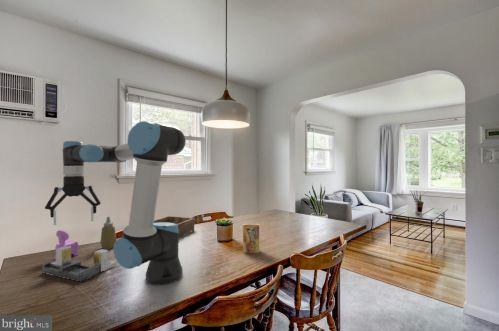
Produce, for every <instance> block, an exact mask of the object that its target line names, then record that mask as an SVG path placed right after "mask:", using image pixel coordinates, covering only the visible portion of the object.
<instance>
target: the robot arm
mask: <svg viewBox="0 0 499 331" xmlns="http://www.w3.org/2000/svg"><path fill="white" fill-rule="evenodd" d="M185 147H186V136H185V134H184V132H183V131H182V130H181V129H179V128H178V127H177V126H172V125H169V124H168V125H167V124H163V123H158V122H154V121H145V120H142V121H139V122H137V123H135V125H134V126H132V127H131V129H130V130H129V133H128V134H127V143H124V144H119V145H115V146H110V145H109V146H106V145H97V144H90V143H89V144H85V145H84V143H83V142H82V141H79V140H78V141H77V140H64V142H63V143H62V164H63V165H62V168H63V169H62V171H63V173H62V174H63V175H64V176H63V178H62V179H63V181H62V182H63V184H62V185H63V186H62V187H59V186H55V187H54V190H53V192H52V195H51V197H50V198H49V200H48V202H47V203H46V205H45V206H44V210H49V211H50V218H53V226H57V224H58V209H57V207H58V206H59V205H60V204H61V203H62V202H63V201H64V199H65V198H67V197H69V198H70V197H79V196H80V197H82V198H83V199H84V200H86V201H87V202H88V203H89V204H90V205H91V207H90V219H91V222H94V221H95V220H94V218H95V216H94V214H96V213H97V206H100V205H101V204H102V203H101V201H100V198H98V195H97V194H96V192H95V191H94V189H93V185H86V186H85V176H84V175H85V171H84V170H85V169H84V168H85V167H84V166H85V164H84V163H126V162H127V161H128V160H133V159H134V160H135V162H136V168H135V174H134V176H135V177H134V182H133V190H132V198H131V204H130V211H129V218H128V219H129V221H128V225H125V227H124V228H123V231H122V237H119V238H118V239H116V242H115V243H114V247H113V248H112V249H113V255H114V258H115V259H116V262H117V263H118V264H119V265H120V266H121V267H122V268H124V269H128V270H131V269H134V268H136V267H137V268H138V267H141V265H143V264H145V263H148V262H149V263H148V264H147V268H146V271H145V281H146V283H148V284H149V285H156V286H157V285H158V286H160V285H162V286H163V285H167V284H171V283H173V282H176V281H178V280H179V279H181V278H182V277H183V272H184V271H183V266H182V265H181V264H182V262H181V260H180V257H179V238H178V237H179V232H178V226H177V224H174V223H167V222H159V223H154V220H155V215H156V209H157V201H158V195H159V188H160V182H161V181H160V180H161V173H162V168H163V167H162V166H164V164H165V163H167V162H168V157H169V156H175V155H178V154H180V153H181V152H183V150H184V148H185ZM85 190H87V192H88V191H89V193H90V195H91V196H92V198H93V199H94V201H93V199H91V198H90V197H89V196H88V195H87V194H86V193H85V192H84V191H85ZM61 191H63V193H64V194H63V195H61V197H60V198H59V199H58V200H57V201H56V202H55V203H54V201H55V199H56V197H57V195H58V194H59V192H61ZM53 203H54V204H53Z"/></svg>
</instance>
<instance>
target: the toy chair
mask: <svg viewBox="0 0 499 331" xmlns="http://www.w3.org/2000/svg"><path fill="white" fill-rule="evenodd" d="M55 235H56V237H57V239H58V243H57V244H56V245H55V250H56V249H58V248H61V247H64V246H69V247H71V254H73V255H72V256H76V255H78V256H79V243H78V241H72V240H69V236H70V235H69V233H68V232H67V231H65V230H61V229H59V230H57V231H56V234H55ZM54 254H55V255H54V257H53V259H56V253H54Z"/></svg>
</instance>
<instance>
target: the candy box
mask: <svg viewBox="0 0 499 331" xmlns="http://www.w3.org/2000/svg"><path fill="white" fill-rule="evenodd" d="M242 232H243V233H242V235H243V236H242V237H243V238H242V241H243V243H242V244H243V245H242V250H243V254H248V253H250V254H252V253H253V254H258V253H260V224H259V223H243V225H242Z"/></svg>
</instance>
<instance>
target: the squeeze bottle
mask: <svg viewBox="0 0 499 331" xmlns="http://www.w3.org/2000/svg"><path fill="white" fill-rule="evenodd" d="M105 220H106V221H105V223H103V227H101V233H100V234H101V235H100V246H101V248H102V249H104V250H110V249H113V247H114V243H115V242H116V241H117V235H116V233H117V232H116V227H115V226H114V223H113V222H112V221H111V217H110V216H107V217H106V219H105Z"/></svg>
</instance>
